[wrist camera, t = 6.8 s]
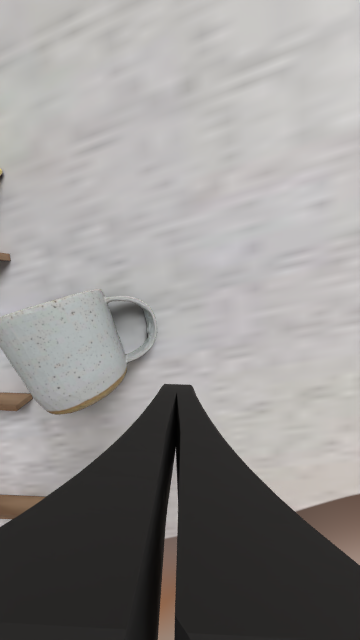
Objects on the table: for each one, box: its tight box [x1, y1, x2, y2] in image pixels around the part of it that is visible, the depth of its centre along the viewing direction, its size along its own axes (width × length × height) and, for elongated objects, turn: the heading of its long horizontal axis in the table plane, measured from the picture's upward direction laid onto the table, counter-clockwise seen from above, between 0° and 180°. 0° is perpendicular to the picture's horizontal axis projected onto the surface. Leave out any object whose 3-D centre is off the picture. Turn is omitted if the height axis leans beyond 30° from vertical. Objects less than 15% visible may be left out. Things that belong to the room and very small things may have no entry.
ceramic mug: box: [0, 289, 157, 414], centre depth 15 cm, size 11×8×8 cm
